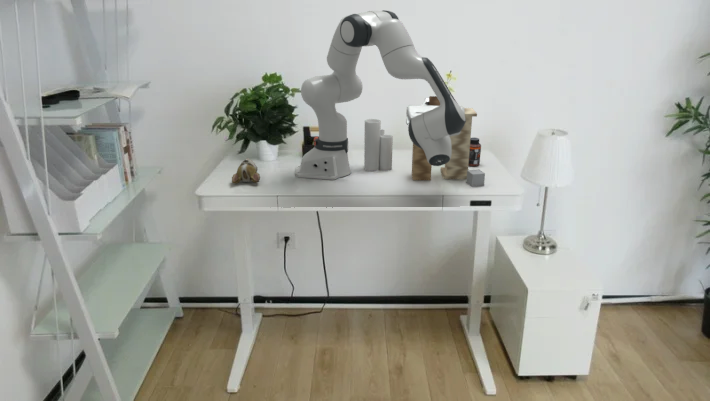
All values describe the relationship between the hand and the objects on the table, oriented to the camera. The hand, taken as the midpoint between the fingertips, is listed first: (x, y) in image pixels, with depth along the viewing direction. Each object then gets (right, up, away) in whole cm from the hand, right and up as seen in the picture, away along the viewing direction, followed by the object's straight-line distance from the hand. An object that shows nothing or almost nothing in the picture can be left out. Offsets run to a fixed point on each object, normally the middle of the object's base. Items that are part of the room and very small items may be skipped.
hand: (434, 99), depth 197 cm
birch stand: (+12, -26, +22) cm, 36 cm away
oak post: (-2, -27, +20) cm, 34 cm away
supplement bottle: (+21, -21, +35) cm, 46 cm away
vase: (-19, -23, +31) cm, 43 cm away
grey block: (+17, -30, +13) cm, 37 cm away
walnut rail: (0, -4, +7) cm, 8 cm away
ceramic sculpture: (-70, -29, +16) cm, 78 cm away
